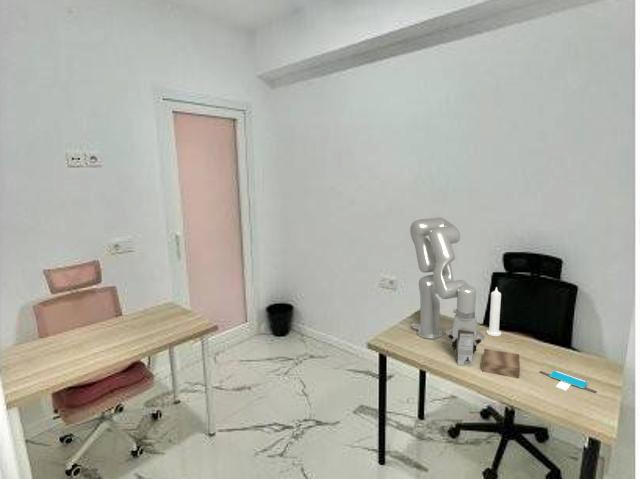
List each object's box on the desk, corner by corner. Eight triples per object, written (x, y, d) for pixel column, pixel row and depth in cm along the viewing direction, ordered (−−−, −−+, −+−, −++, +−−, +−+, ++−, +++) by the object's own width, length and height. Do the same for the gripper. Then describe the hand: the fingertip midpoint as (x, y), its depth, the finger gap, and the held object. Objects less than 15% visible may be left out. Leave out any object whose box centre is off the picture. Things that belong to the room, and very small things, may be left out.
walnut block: (482, 372, 164) (482, 361, 163) (483, 358, 175) (484, 348, 174) (518, 379, 158) (519, 368, 157) (518, 364, 169) (519, 354, 168)
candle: (484, 333, 197) (486, 287, 191) (489, 328, 202) (491, 283, 196) (498, 337, 192) (501, 290, 187) (503, 332, 197) (506, 286, 192)
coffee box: (454, 354, 178) (456, 322, 175) (469, 355, 177) (471, 323, 173) (457, 365, 170) (458, 332, 166) (472, 366, 168) (474, 332, 165)
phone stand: (533, 379, 158) (533, 375, 158) (544, 368, 165) (544, 364, 165) (590, 401, 143) (591, 397, 143) (600, 388, 151) (600, 384, 150)
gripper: (443, 314, 169) (442, 350, 173) (486, 320, 161) (484, 358, 165) (446, 307, 175) (445, 343, 179) (487, 313, 168) (485, 350, 172)
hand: (464, 350), depth 172 cm, fingers closed on coffee box, 7 cm apart
